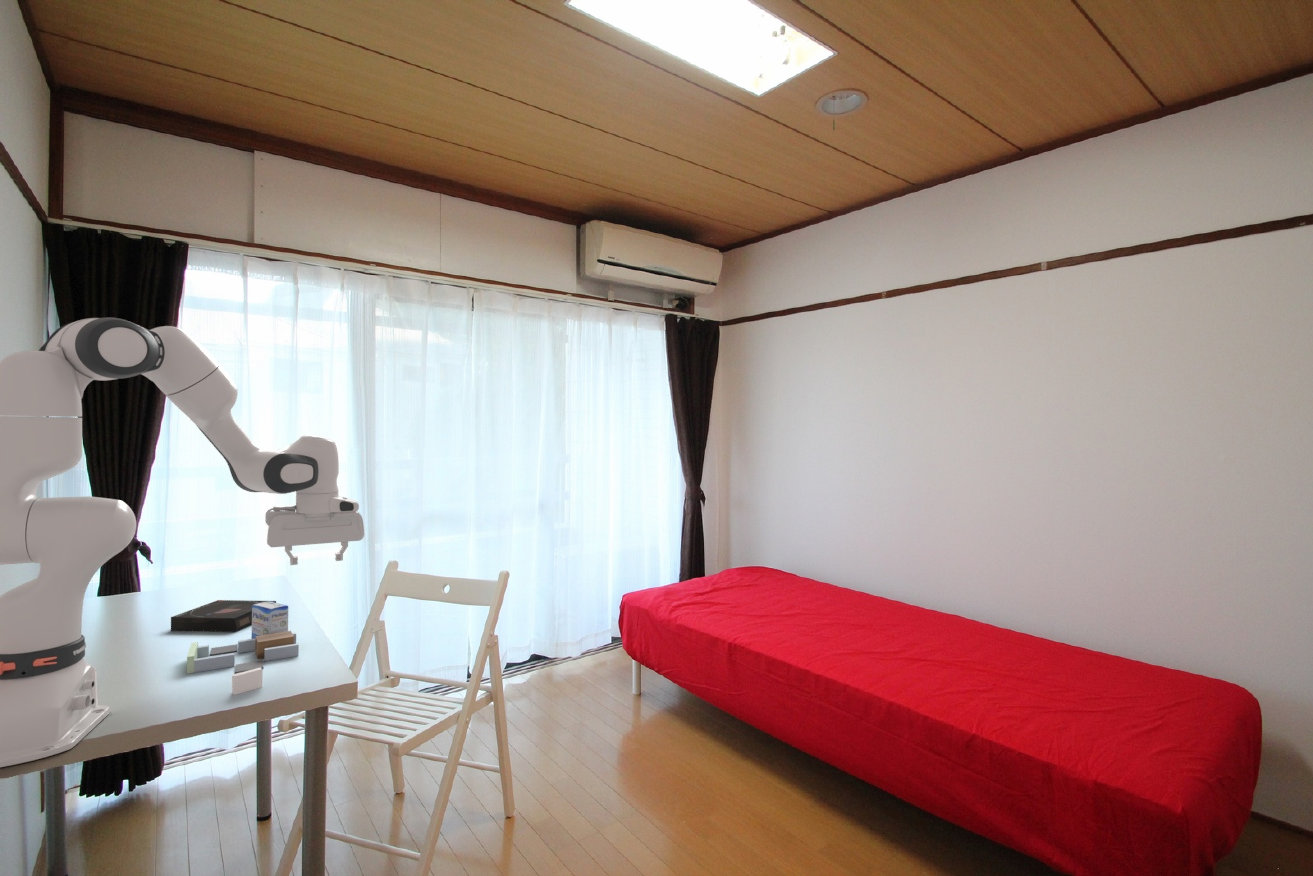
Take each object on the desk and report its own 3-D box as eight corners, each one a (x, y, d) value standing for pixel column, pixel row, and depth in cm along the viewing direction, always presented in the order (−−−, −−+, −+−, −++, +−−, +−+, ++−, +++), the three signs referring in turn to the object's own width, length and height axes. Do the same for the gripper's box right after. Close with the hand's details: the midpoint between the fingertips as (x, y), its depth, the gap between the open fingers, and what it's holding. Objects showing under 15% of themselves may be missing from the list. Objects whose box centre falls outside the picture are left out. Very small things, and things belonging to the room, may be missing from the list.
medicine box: (250, 640, 151) (251, 604, 151) (269, 635, 155) (269, 600, 155) (270, 645, 148) (270, 609, 147) (288, 640, 151) (289, 604, 151)
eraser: (231, 693, 120) (232, 674, 120) (259, 685, 124) (260, 667, 124) (234, 695, 119) (234, 676, 119) (262, 687, 123) (262, 669, 123)
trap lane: (299, 662, 136) (299, 646, 136) (184, 681, 125) (184, 664, 125) (294, 637, 154) (294, 623, 154) (193, 652, 143) (193, 636, 143)
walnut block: (293, 653, 143) (293, 636, 143) (257, 660, 138) (257, 642, 138) (290, 647, 147) (290, 630, 147) (255, 653, 142) (255, 636, 142)
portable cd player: (237, 634, 157) (237, 618, 157) (170, 633, 158) (170, 617, 158) (278, 615, 174) (278, 601, 174) (217, 614, 174) (218, 600, 174)
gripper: (265, 508, 139) (265, 570, 139) (365, 503, 150) (365, 560, 150) (265, 505, 144) (264, 564, 144) (362, 500, 155) (361, 555, 155)
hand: (316, 562), depth 147 cm, fingers open, 8 cm apart
